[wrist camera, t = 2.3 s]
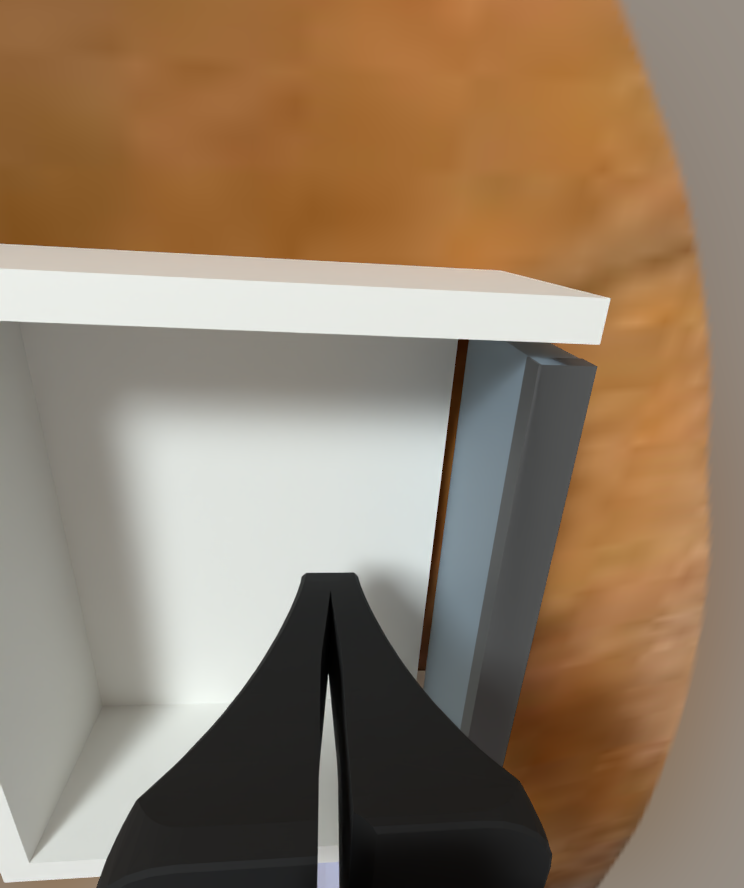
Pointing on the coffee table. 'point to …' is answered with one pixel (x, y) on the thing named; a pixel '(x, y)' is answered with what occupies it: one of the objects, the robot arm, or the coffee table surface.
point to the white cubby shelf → (207, 497)
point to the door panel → (502, 528)
